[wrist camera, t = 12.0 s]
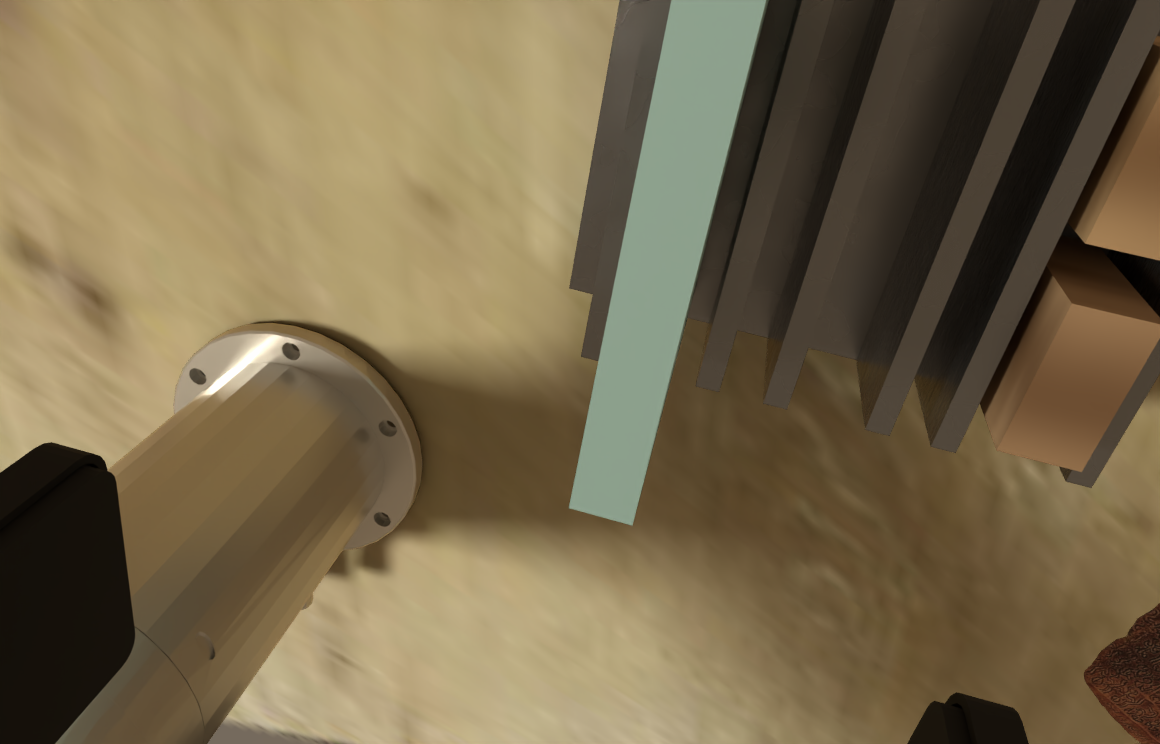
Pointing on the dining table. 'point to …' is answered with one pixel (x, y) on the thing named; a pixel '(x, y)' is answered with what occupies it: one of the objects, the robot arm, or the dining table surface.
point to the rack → (887, 189)
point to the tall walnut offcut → (1069, 359)
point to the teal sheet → (664, 243)
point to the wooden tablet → (1131, 679)
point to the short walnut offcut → (1127, 174)
